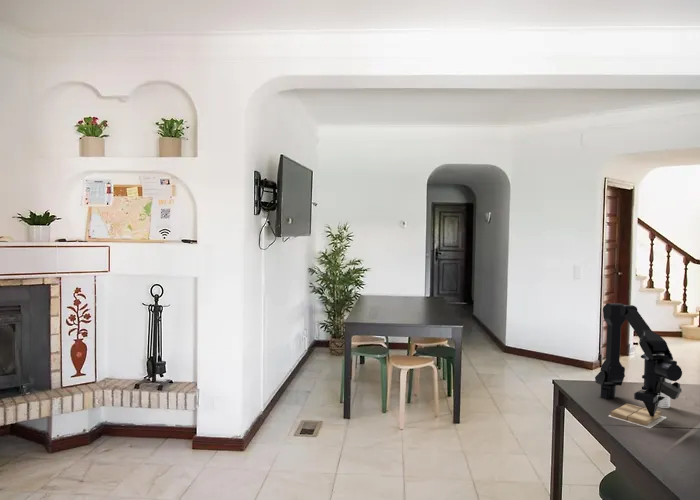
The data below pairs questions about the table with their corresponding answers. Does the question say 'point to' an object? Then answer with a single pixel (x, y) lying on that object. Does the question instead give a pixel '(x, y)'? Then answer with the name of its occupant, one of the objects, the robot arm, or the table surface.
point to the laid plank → (625, 411)
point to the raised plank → (643, 416)
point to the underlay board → (647, 424)
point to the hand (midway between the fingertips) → (652, 416)
